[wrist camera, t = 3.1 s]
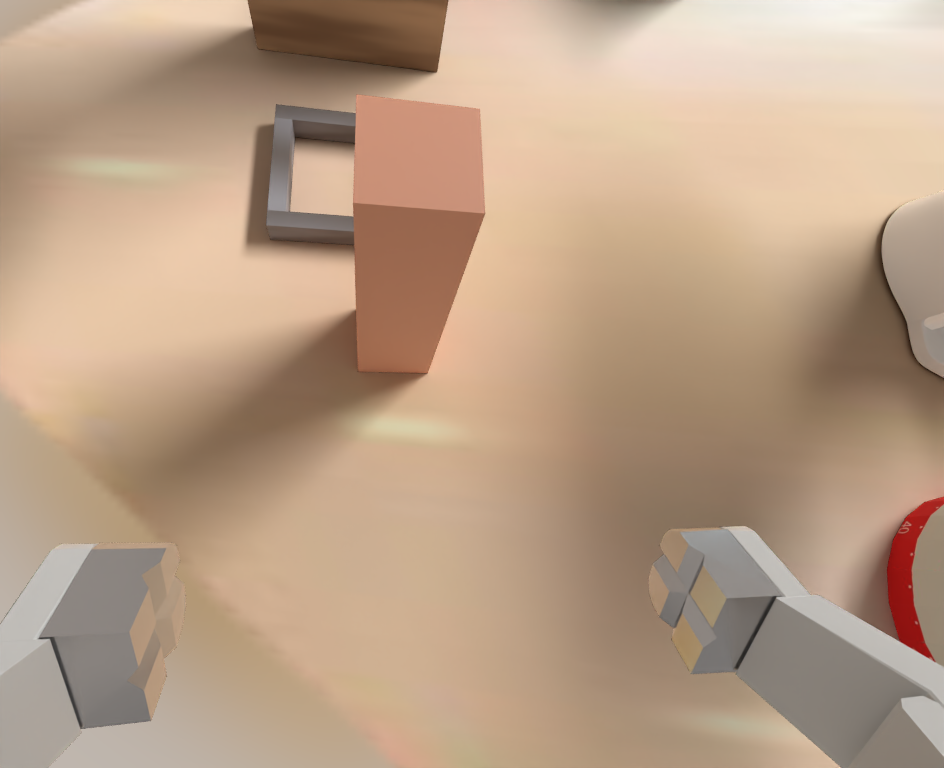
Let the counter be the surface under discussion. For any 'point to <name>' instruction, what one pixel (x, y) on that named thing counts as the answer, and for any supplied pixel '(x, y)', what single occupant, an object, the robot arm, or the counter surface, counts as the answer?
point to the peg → (412, 225)
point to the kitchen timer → (919, 580)
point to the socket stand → (347, 38)
